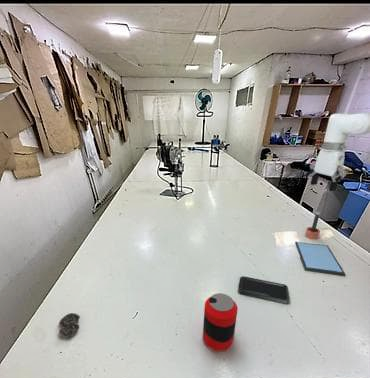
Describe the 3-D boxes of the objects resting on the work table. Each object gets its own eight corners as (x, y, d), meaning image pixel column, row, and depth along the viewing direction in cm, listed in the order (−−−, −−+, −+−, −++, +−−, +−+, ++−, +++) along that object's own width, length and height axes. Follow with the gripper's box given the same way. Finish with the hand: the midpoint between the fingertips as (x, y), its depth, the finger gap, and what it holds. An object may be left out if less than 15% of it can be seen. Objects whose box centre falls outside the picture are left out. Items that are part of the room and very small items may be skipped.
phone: (240, 275, 80) (287, 284, 76) (240, 278, 81) (286, 287, 76) (237, 290, 73) (289, 301, 69) (237, 293, 74) (288, 304, 70)
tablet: (327, 247, 100) (327, 245, 100) (344, 276, 83) (345, 273, 82) (294, 243, 103) (295, 241, 103) (304, 270, 85) (305, 268, 85)
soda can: (204, 324, 63) (206, 288, 58) (233, 328, 62) (237, 292, 57) (201, 349, 56) (203, 311, 51) (233, 354, 55) (238, 316, 50)
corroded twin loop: (58, 342, 57) (57, 339, 57) (60, 318, 64) (59, 315, 64) (80, 335, 59) (80, 332, 59) (80, 313, 66) (79, 310, 65)
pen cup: (316, 235, 110) (318, 227, 109) (319, 241, 105) (321, 233, 104) (303, 234, 111) (305, 226, 110) (306, 239, 106) (308, 231, 105)
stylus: (313, 235, 109) (319, 211, 104) (314, 237, 107) (320, 213, 102) (309, 235, 109) (315, 211, 104) (310, 237, 107) (316, 212, 102)
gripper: (360, 149, 90) (346, 192, 97) (322, 144, 104) (313, 181, 112) (345, 150, 87) (333, 194, 94) (309, 144, 102) (300, 183, 109)
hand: (322, 187), depth 103 cm, fingers open, 9 cm apart
